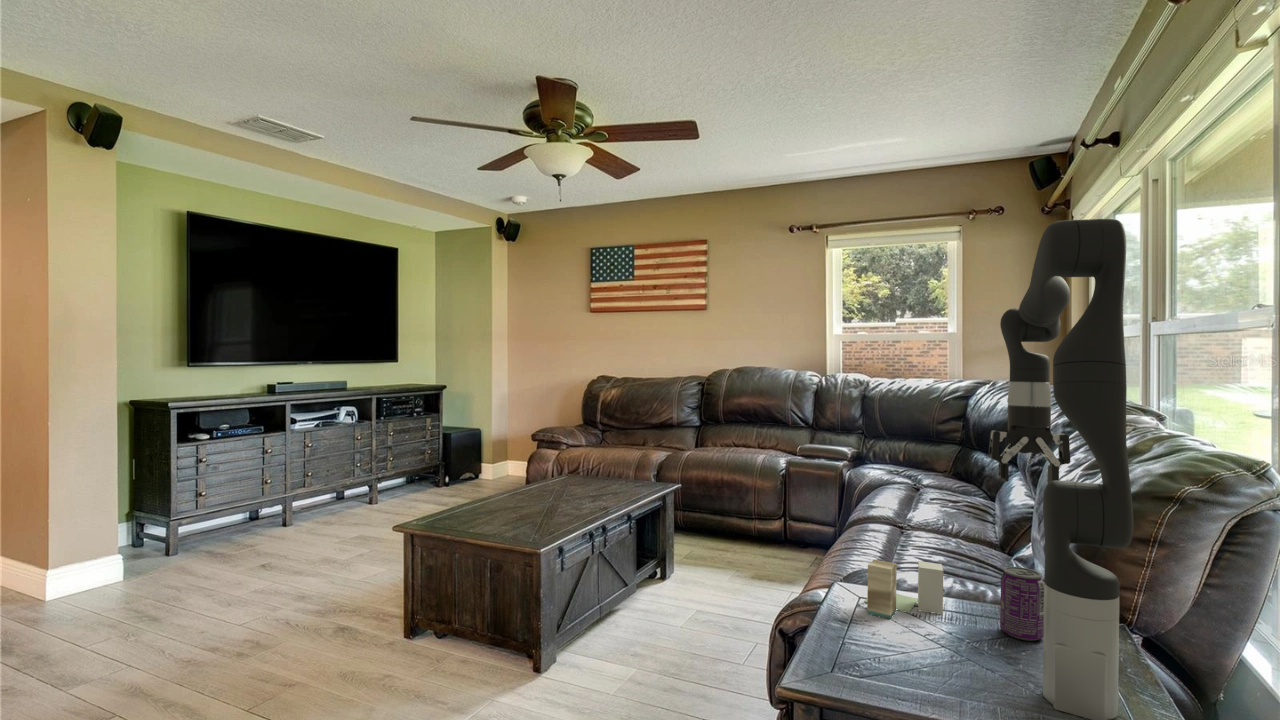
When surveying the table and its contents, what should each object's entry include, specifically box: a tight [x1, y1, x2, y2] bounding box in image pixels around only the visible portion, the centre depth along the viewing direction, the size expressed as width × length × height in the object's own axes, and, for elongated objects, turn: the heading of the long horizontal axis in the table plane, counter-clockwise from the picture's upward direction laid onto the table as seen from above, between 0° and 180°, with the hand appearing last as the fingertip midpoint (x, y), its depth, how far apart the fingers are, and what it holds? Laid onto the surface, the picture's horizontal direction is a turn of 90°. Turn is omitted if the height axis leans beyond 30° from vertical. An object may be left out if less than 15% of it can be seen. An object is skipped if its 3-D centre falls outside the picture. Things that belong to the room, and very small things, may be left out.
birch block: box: [866, 559, 898, 620], centre depth 125 cm, size 4×4×10 cm
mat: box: [863, 593, 918, 613], centre depth 132 cm, size 9×9×1 cm
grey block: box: [917, 560, 944, 615], centre depth 128 cm, size 4×4×9 cm
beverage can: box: [999, 566, 1044, 642], centre depth 116 cm, size 7×7×12 cm
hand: (1028, 482), depth 126 cm, fingers open, 8 cm apart
